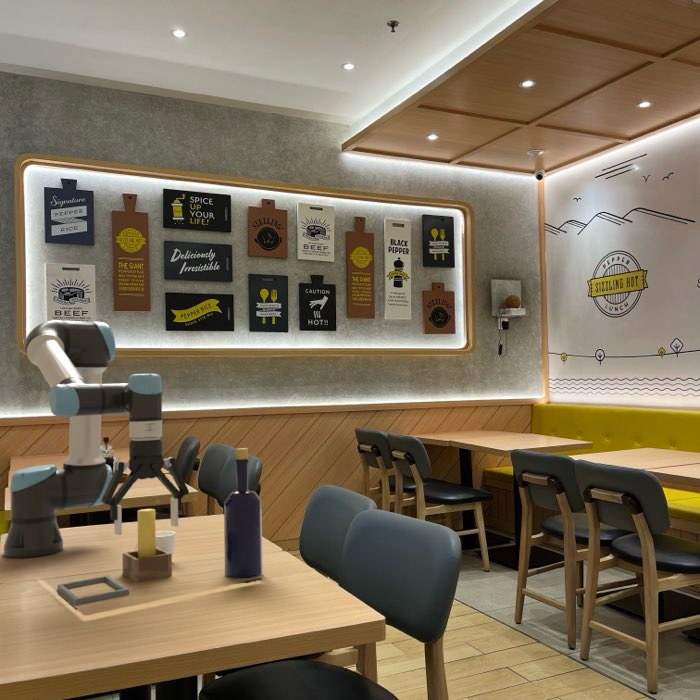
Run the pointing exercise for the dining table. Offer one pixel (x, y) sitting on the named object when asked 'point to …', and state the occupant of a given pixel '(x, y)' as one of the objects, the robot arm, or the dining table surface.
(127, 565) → the holder
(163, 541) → the cup
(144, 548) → the dowel
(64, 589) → the tray
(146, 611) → the dining table surface
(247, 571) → the bottle
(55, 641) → the dining table surface
